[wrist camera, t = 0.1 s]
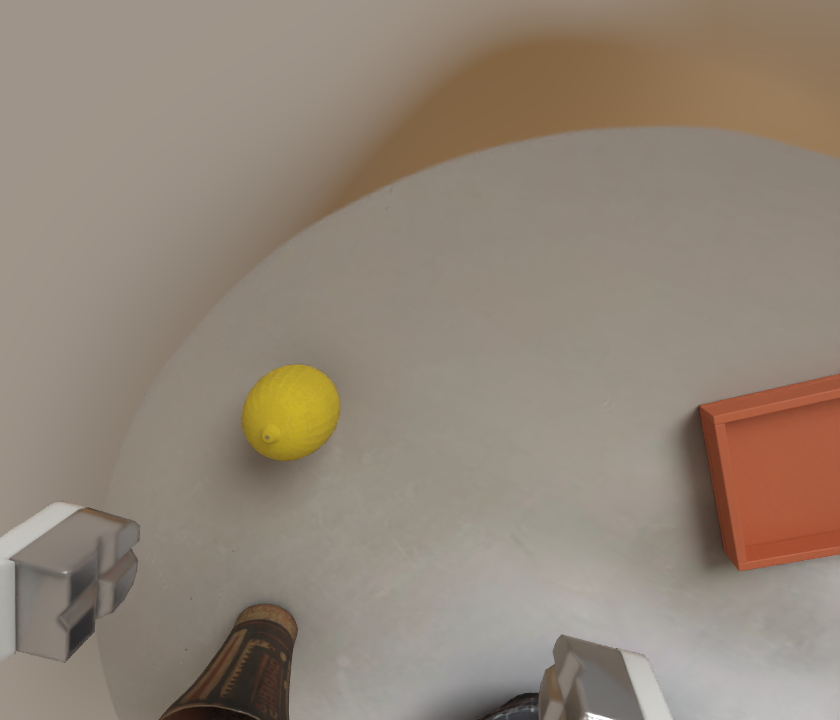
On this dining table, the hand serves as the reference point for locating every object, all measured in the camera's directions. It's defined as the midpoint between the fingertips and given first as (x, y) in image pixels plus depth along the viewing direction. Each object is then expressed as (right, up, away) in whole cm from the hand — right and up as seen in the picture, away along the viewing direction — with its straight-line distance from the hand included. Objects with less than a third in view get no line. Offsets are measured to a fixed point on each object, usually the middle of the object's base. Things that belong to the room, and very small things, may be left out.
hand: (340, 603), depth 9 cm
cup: (-10, -18, +31) cm, 37 cm away
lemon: (-6, +3, +25) cm, 26 cm away
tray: (+26, -2, +23) cm, 35 cm away
